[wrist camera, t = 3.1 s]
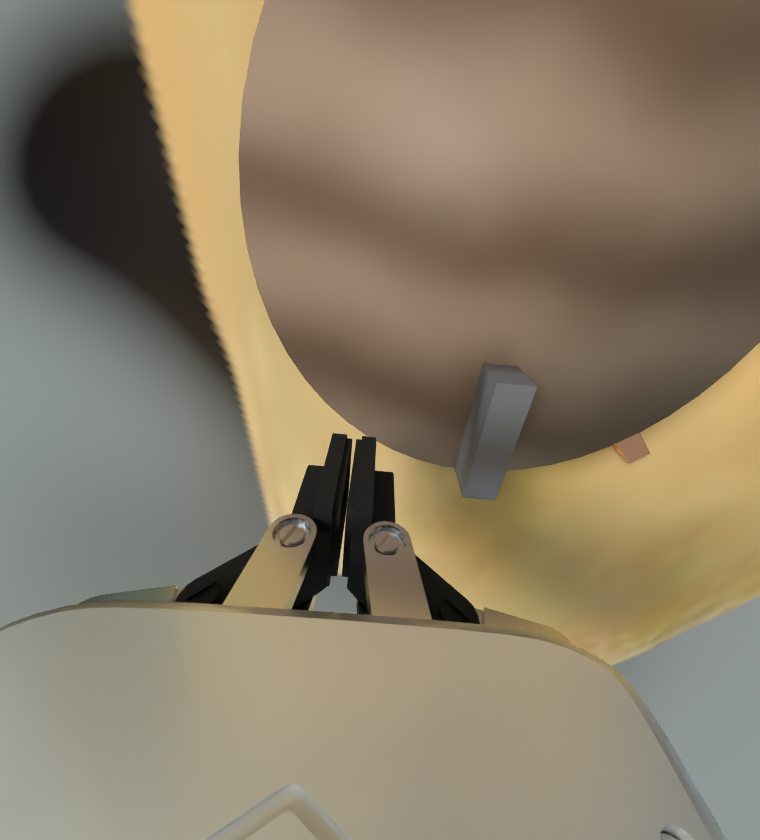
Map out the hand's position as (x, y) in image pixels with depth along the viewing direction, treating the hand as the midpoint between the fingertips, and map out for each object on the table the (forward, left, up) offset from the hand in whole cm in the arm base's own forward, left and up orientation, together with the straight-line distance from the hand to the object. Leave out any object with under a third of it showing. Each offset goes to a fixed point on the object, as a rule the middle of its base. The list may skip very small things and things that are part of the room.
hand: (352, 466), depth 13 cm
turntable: (-8, +6, -7) cm, 12 cm away
